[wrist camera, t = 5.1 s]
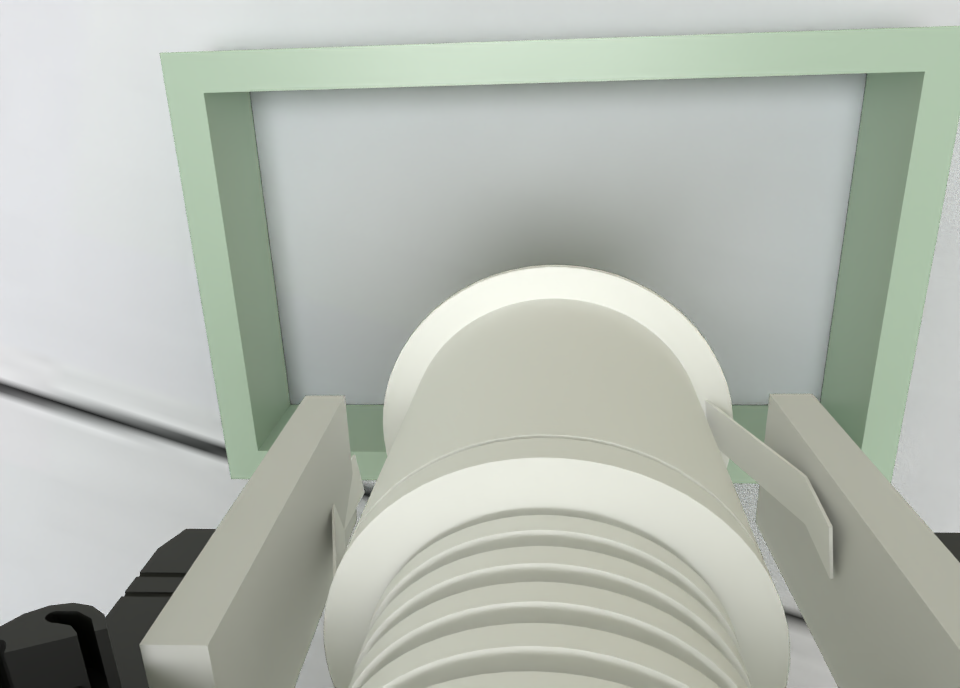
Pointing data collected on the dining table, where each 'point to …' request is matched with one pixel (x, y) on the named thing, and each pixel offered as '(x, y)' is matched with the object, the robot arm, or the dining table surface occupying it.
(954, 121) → the bin
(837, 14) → the dining table surface
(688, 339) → the downlight
